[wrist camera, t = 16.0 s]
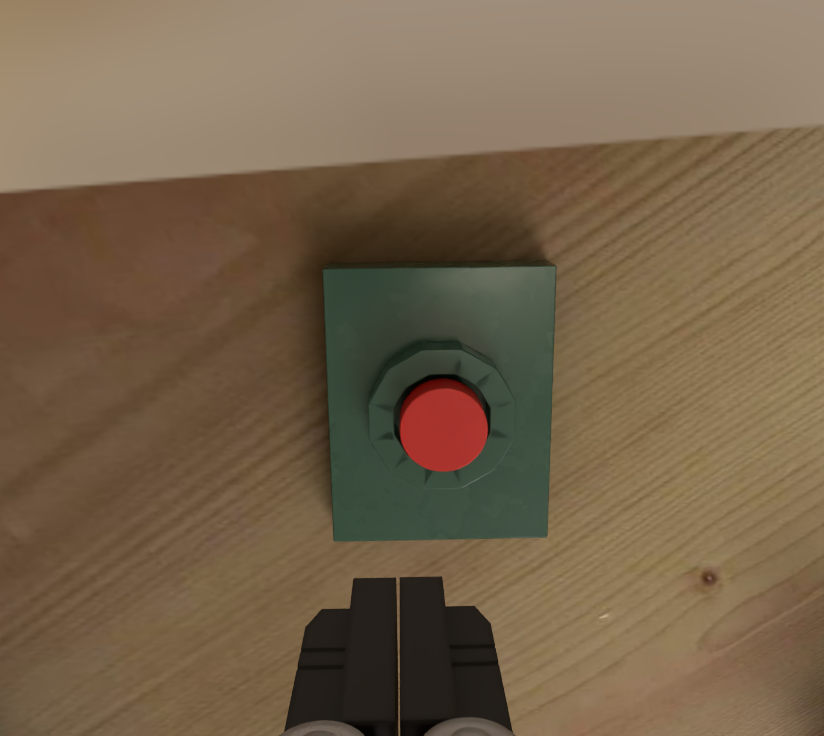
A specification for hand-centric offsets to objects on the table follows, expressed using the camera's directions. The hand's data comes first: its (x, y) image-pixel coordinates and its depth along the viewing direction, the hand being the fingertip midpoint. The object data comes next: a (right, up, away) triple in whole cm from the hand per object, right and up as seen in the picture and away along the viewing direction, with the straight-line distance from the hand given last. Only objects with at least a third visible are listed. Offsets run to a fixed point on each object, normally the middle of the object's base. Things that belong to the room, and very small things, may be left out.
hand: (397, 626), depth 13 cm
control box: (+2, +3, +27) cm, 27 cm away
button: (+2, +2, +24) cm, 24 cm away
